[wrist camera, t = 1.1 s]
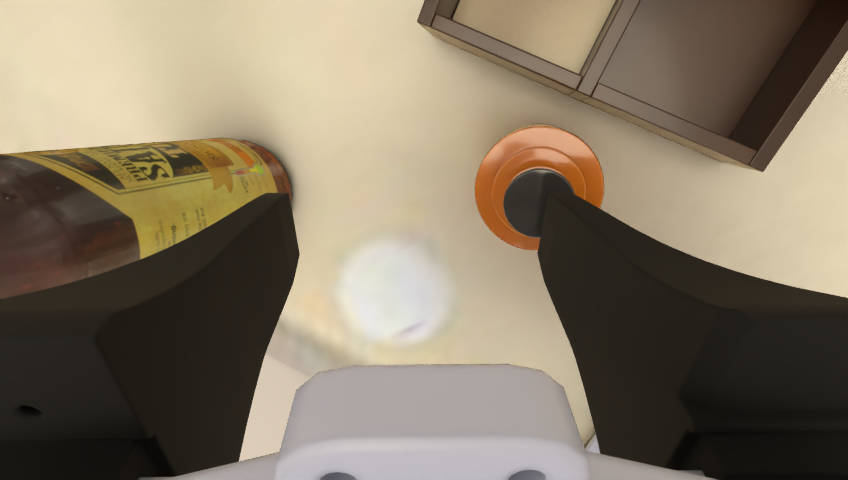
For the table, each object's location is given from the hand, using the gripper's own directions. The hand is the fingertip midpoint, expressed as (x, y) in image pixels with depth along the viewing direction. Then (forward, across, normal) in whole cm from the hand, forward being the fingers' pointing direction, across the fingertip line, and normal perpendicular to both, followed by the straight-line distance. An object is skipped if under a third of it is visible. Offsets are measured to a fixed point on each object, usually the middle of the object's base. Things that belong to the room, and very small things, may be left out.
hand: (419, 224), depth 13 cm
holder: (+11, -9, -4) cm, 15 cm away
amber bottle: (+10, -6, +3) cm, 12 cm away
